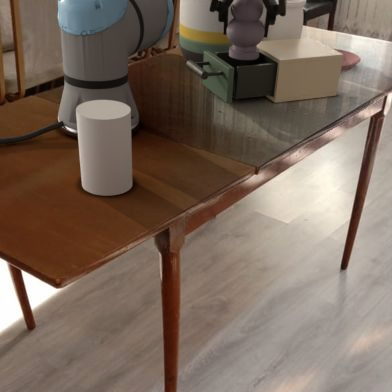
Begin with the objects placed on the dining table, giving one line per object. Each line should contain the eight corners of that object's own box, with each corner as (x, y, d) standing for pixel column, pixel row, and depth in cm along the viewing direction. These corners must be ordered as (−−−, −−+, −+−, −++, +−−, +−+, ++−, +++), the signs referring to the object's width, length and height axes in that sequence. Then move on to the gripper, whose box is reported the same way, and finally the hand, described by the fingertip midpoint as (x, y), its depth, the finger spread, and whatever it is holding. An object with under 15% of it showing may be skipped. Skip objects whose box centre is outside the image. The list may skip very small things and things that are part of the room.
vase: (259, 71, 150) (271, -47, 134) (193, 76, 144) (198, -45, 129) (230, 50, 161) (238, -60, 146) (168, 55, 156) (170, -59, 141)
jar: (296, 61, 157) (305, -7, 147) (297, 74, 149) (307, 3, 140) (254, 57, 158) (260, -10, 148) (253, 70, 150) (259, 0, 140)
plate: (290, 63, 155) (291, 55, 154) (321, 52, 164) (323, 44, 162) (339, 77, 148) (340, 69, 147) (369, 66, 157) (371, 57, 155)
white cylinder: (133, 173, 105) (131, 100, 97) (131, 196, 99) (129, 120, 91) (84, 172, 104) (78, 99, 96) (79, 194, 98) (72, 118, 90)
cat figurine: (229, 48, 135) (234, -16, 127) (265, 52, 134) (272, -12, 126) (220, 58, 129) (224, -7, 121) (258, 63, 128) (264, -3, 120)
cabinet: (274, 102, 134) (280, 60, 128) (245, 82, 143) (249, 41, 137) (336, 95, 139) (343, 54, 133) (304, 76, 148) (310, 37, 142)
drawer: (204, 105, 128) (206, 70, 124) (181, 85, 137) (182, 52, 132) (287, 96, 135) (291, 62, 130) (260, 77, 143) (263, 46, 139)
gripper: (192, -31, 109) (195, 43, 131) (310, -24, 108) (293, 50, 131) (195, -72, 109) (198, 9, 132) (313, -65, 109) (296, 16, 131)
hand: (245, 29), depth 131 cm, fingers closed on cat figurine, 8 cm apart
